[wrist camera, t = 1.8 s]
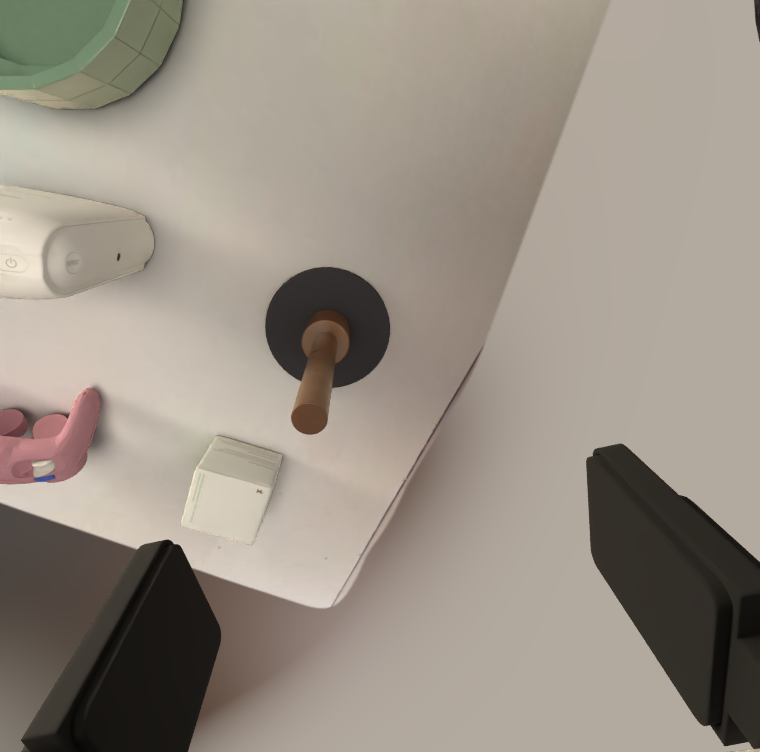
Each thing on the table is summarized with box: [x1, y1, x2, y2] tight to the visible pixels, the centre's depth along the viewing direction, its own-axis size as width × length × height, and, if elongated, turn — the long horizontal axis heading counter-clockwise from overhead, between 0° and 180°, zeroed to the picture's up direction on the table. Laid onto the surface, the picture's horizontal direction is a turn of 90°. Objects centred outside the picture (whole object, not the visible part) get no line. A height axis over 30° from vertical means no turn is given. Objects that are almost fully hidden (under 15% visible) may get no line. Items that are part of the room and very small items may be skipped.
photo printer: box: [0, 185, 154, 299], centre depth 24 cm, size 10×4×12 cm, turn 79°
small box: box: [181, 435, 283, 545], centre depth 35 cm, size 6×6×5 cm
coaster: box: [265, 267, 390, 388], centre depth 33 cm, size 9×9×1 cm
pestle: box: [291, 310, 350, 434], centre depth 27 cm, size 3×3×14 cm
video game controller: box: [0, 388, 100, 484], centre depth 32 cm, size 10×5×7 cm, turn 81°
